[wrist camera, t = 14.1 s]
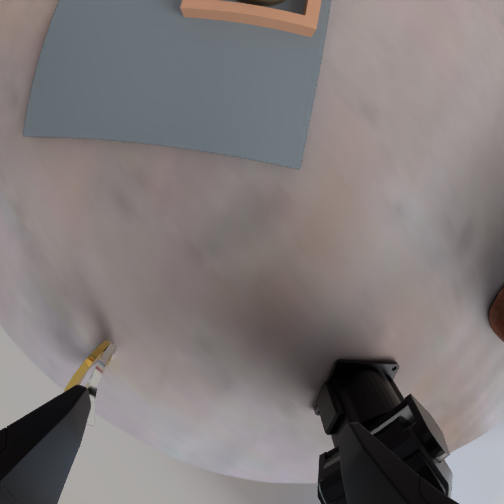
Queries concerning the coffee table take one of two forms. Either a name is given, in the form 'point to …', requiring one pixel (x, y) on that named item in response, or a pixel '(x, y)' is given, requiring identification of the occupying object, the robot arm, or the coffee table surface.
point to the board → (182, 75)
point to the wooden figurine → (498, 315)
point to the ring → (105, 355)
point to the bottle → (261, 2)
